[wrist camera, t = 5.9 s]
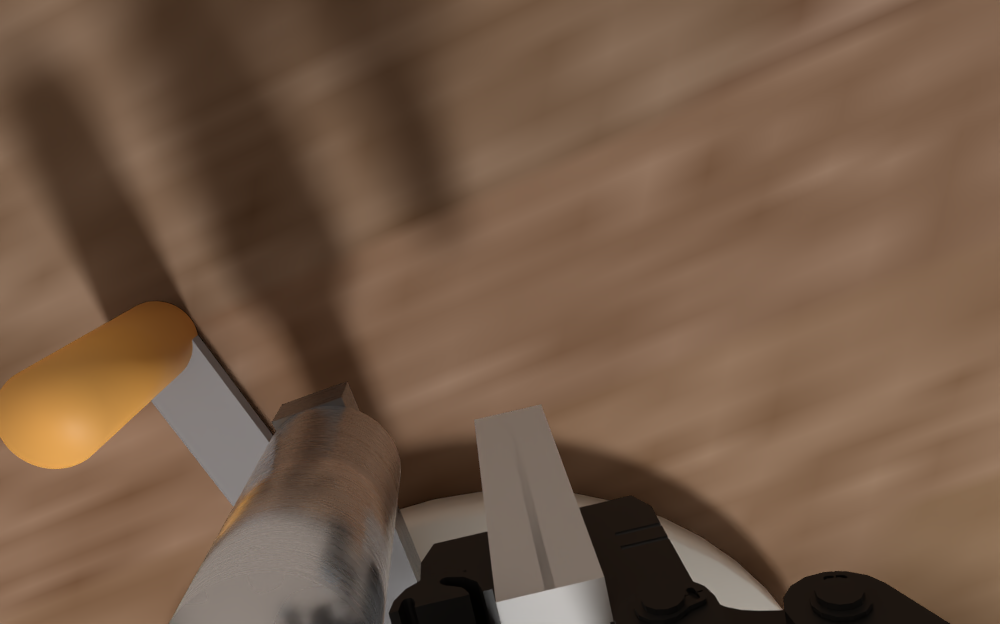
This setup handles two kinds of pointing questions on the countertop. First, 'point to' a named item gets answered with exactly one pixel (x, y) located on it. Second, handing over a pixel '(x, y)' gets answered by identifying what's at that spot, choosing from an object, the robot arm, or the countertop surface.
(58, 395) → the stand
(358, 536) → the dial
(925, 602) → the countertop surface
